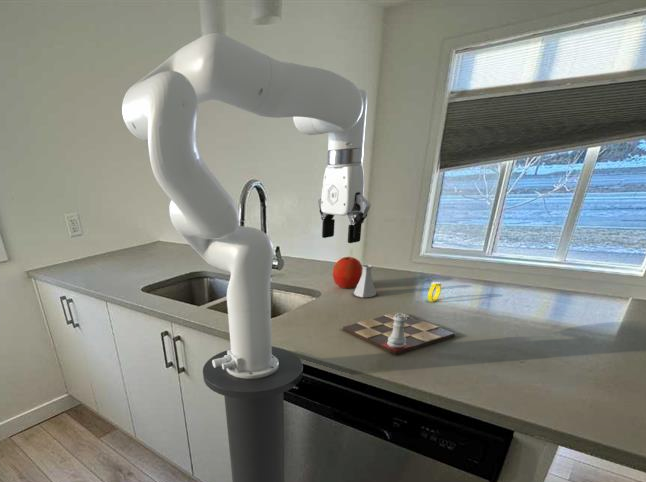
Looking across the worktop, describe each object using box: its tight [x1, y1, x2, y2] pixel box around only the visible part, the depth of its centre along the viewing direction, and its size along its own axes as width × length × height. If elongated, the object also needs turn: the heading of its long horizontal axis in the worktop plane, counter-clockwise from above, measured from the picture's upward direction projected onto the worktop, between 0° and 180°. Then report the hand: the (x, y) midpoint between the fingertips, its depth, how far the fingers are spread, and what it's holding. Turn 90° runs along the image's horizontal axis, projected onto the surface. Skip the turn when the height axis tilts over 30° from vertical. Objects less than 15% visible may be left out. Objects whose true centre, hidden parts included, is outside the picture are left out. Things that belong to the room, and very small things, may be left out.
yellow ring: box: [427, 281, 442, 303], centre depth 128 cm, size 6×3×6 cm, turn 131°
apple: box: [332, 255, 363, 289], centre depth 147 cm, size 10×10×12 cm
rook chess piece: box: [387, 312, 407, 348], centre depth 99 cm, size 4×4×8 cm
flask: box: [353, 264, 377, 298], centre depth 138 cm, size 7×7×10 cm
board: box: [342, 311, 456, 356], centre depth 110 cm, size 20×20×1 cm
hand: (340, 239), depth 97 cm, fingers open, 9 cm apart
